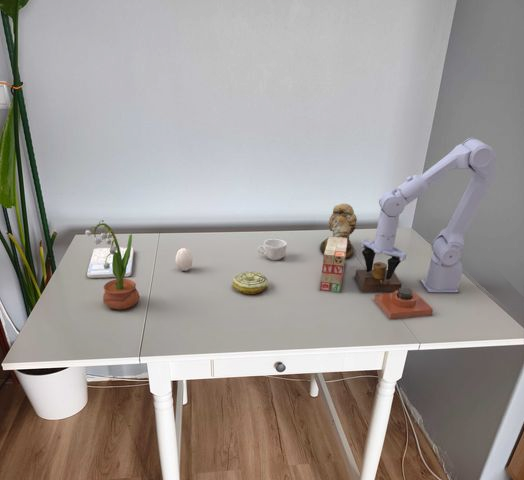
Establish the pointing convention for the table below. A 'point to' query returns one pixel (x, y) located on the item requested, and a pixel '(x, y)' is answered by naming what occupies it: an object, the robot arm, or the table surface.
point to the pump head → (405, 293)
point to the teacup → (274, 248)
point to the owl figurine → (342, 226)
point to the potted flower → (117, 273)
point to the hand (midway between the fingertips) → (378, 274)
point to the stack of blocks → (333, 264)
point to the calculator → (99, 259)
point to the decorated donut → (250, 282)
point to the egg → (184, 259)
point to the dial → (379, 270)
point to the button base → (402, 305)
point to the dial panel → (376, 283)
